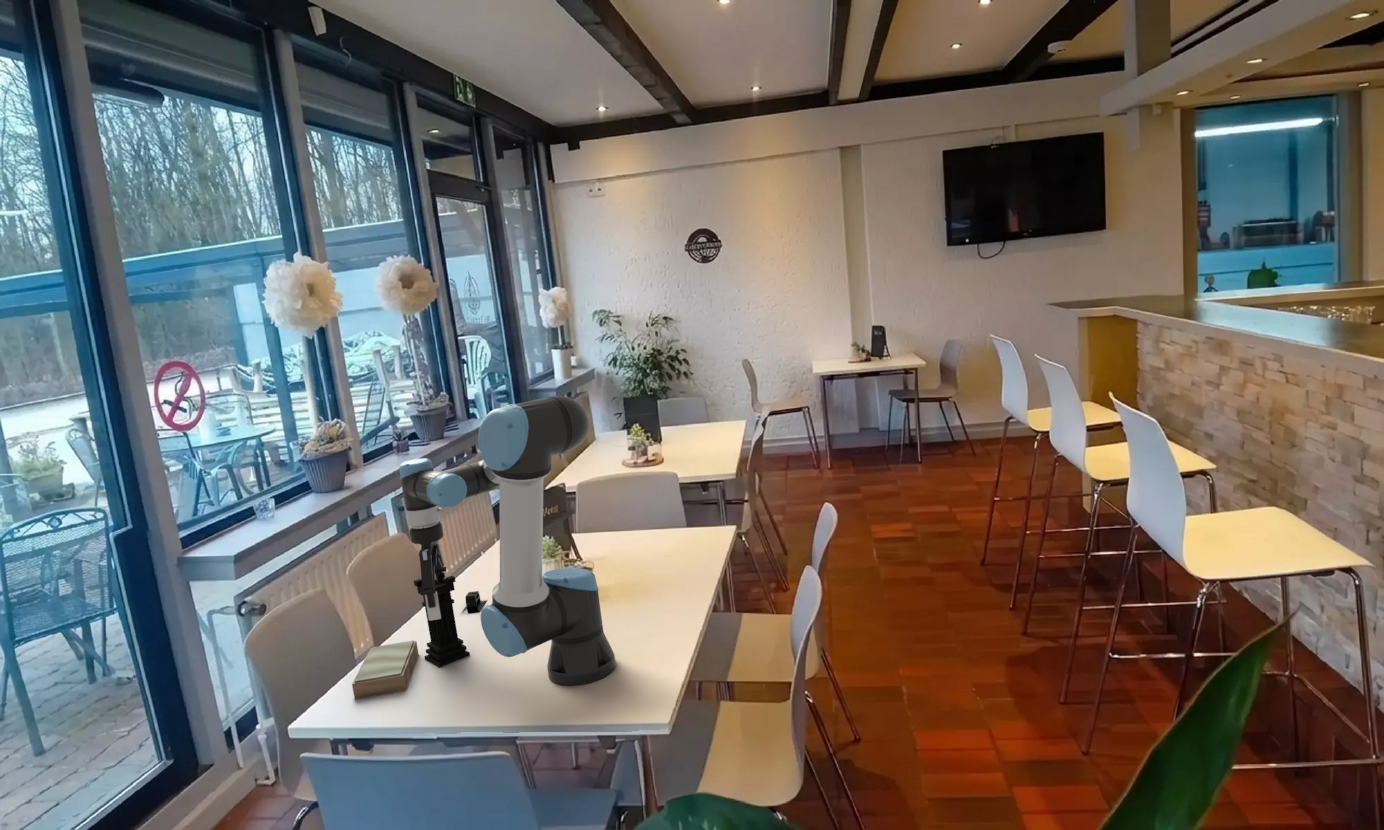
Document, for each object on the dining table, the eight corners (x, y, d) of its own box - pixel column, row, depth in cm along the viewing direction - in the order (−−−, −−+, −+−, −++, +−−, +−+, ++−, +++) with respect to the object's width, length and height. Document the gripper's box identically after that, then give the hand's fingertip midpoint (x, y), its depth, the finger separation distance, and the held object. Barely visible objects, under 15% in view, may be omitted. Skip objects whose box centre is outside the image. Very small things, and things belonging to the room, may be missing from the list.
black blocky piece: (481, 616, 235) (478, 600, 234) (455, 619, 235) (452, 603, 234) (492, 599, 247) (489, 584, 246) (467, 602, 247) (464, 587, 247)
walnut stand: (405, 690, 193) (402, 673, 192) (354, 699, 191) (351, 682, 190) (418, 654, 212) (416, 639, 212) (372, 662, 211) (369, 646, 210)
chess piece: (424, 659, 209) (411, 580, 206) (455, 647, 214) (442, 570, 211) (439, 667, 203) (425, 587, 200) (470, 655, 208) (457, 576, 205)
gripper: (434, 536, 192) (448, 625, 195) (447, 508, 216) (459, 588, 220) (399, 541, 191) (414, 631, 194) (416, 512, 215) (429, 593, 218)
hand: (438, 608), depth 207 cm, fingers open, 13 cm apart
